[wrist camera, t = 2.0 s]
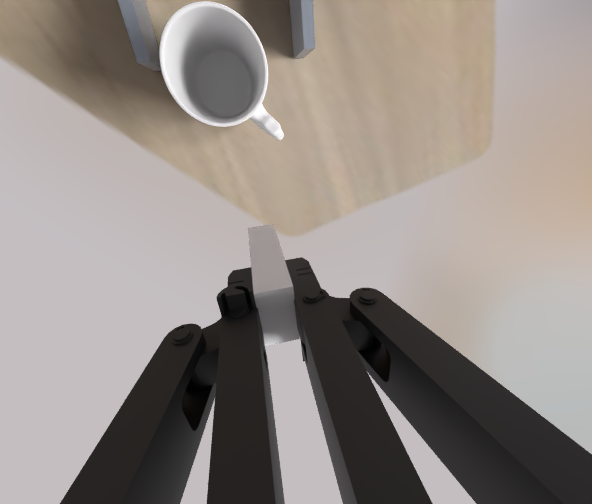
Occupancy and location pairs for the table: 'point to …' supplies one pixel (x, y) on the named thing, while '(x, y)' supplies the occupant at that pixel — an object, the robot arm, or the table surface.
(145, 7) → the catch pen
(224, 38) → the mug
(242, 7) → the table surface
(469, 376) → the robot arm
